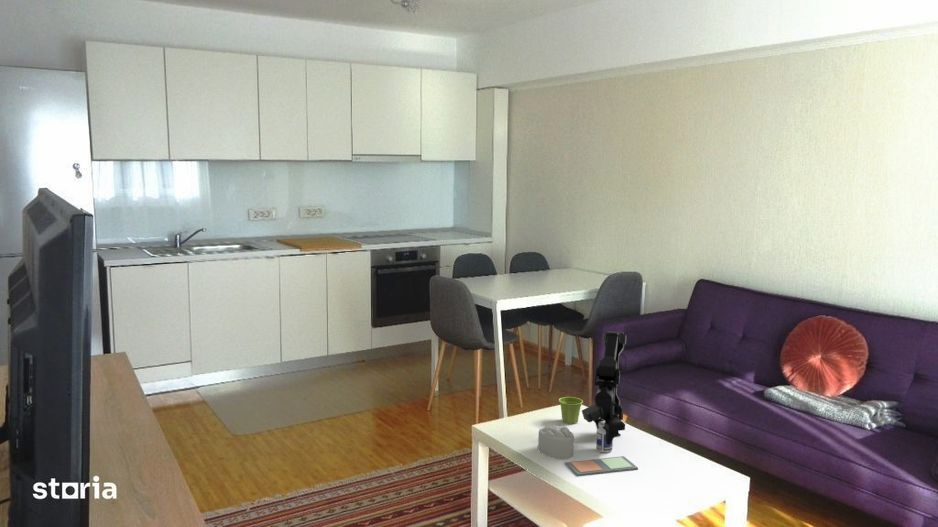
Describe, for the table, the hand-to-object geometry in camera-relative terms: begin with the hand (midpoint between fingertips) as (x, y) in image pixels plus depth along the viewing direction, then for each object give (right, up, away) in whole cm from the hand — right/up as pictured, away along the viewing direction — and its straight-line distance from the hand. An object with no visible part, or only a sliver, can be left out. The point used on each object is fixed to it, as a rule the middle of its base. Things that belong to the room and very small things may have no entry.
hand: (604, 441), depth 254 cm
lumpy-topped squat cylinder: (-17, -4, -2) cm, 18 cm away
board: (-4, -5, -14) cm, 15 cm away
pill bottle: (0, -3, 0) cm, 3 cm away
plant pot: (-8, 0, +29) cm, 30 cm away
